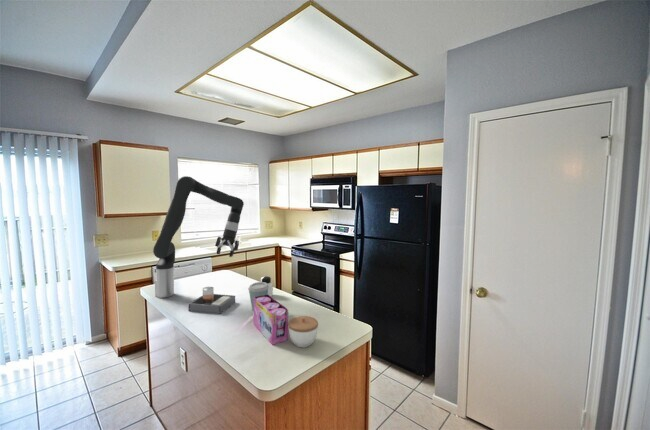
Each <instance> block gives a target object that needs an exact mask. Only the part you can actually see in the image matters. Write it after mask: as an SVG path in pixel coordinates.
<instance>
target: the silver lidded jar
mask: <svg viewBox="0 0 650 430" xmlns="http://www.w3.org/2000/svg"><path fill="white" fill-rule="evenodd" d="M214 291H215V288H214V287H213V286H206V287H203V288H202V296H203V304H205V305H211V304H212V303H214V294H215V293H214Z"/></svg>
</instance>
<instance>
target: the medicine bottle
mask: <svg viewBox="0 0 650 430" xmlns="http://www.w3.org/2000/svg"><path fill="white" fill-rule="evenodd" d="M271 280H272V278H271V277H270V276H267V275H266V276H263V277H262V276H261V278H260V282H266V283H267V284H268V286H269V288H268V294H267V295H269V296H271V297H272V296H273V290H274V287H273V286H274V283H271Z"/></svg>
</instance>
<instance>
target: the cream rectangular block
mask: <svg viewBox="0 0 650 430" xmlns="http://www.w3.org/2000/svg"><path fill="white" fill-rule="evenodd" d="M230 298H231V297H228V296H223V297H221V298H220V299H218V300H217V301H215V302H214V303H212V304H211V305H216V306H220V305H221V304H223V303H224V302H226V301H227V300H228V299H230Z"/></svg>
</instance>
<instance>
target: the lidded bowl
mask: <svg viewBox="0 0 650 430" xmlns="http://www.w3.org/2000/svg"><path fill="white" fill-rule="evenodd" d="M318 326H319V322H318V320H317V319H316V318H315V317H312V316H307V315H301V316H300V315H299V316H294V317H292V318H290V320H288V337H289V339H290V341H291V342H292V343H293V344H294V345H295V346H296V347H298V348H307V347H310V346H311V345H312V344H313V342H314V341H315V340H316V338H317V337H318V336H317V334H318V330H319V329H318V328H319V327H318Z"/></svg>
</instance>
